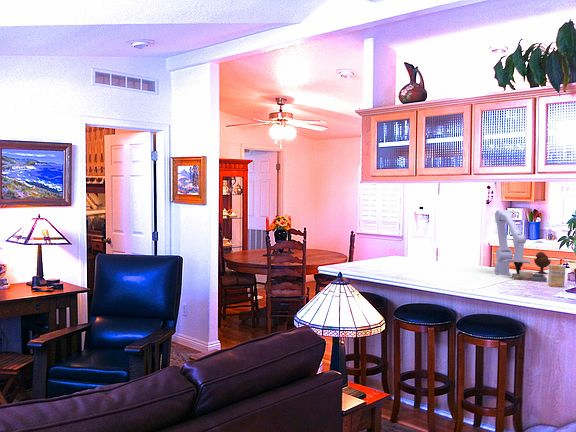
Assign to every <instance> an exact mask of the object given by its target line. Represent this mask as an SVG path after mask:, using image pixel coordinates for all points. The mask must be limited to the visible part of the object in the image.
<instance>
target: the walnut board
mask: <svg viewBox="0 0 576 432" xmlns="http://www.w3.org/2000/svg"><path fill="white" fill-rule="evenodd" d="M511 277H512V278H514V279H513V280H514V281H526V282H527V281H528V282H529V281H530V282H532V281H531V277H530V276H519V274H517V273H512V274H511Z"/></svg>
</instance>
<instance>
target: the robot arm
mask: <svg viewBox="0 0 576 432" xmlns="http://www.w3.org/2000/svg"><path fill="white" fill-rule="evenodd" d="M494 219H495V223H496V228H497V235H498V236H497V237H498V243H499V245H498V246H499V247H498V248H497V249H496V250H495V252H496V253H495V258H496V260H495V262H494V275H509V276H510V275H511V274H510V266H511V265H510V264H511V263H513V265H514V267H515V270H516V274H519V271H521V268H522V267H523V264H529V265H530V264H531V260H529V259H524V251H525V244H526V243H527V242H526V241H527V238H526V235H525V234H523V233H522V232H521V230H520V229H519V227H518V226H516V224H515V221H514V219H513V212H512V210H511V209H504V210H503V209H497V210H495V213H494ZM506 224H507V226H508V227H509V233H510V234H511V236H512V243H513V247H514V248H513V249H514V250H513V252H512V249H511V248H510V247H509V246H508V239H507V231H506V230H507V229H506Z"/></svg>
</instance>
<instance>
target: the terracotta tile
mask: <svg viewBox="0 0 576 432" xmlns="http://www.w3.org/2000/svg"><path fill="white" fill-rule="evenodd" d="M525 272H526V276H530V277H533V274H534V272H533V271H525Z"/></svg>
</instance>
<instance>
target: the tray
mask: <svg viewBox="0 0 576 432" xmlns="http://www.w3.org/2000/svg"><path fill="white" fill-rule="evenodd" d="M547 280H548V279H547V277H546V275H545V274H539V273H533V277H531V281H530V282H542V283H548V281H547Z"/></svg>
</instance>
